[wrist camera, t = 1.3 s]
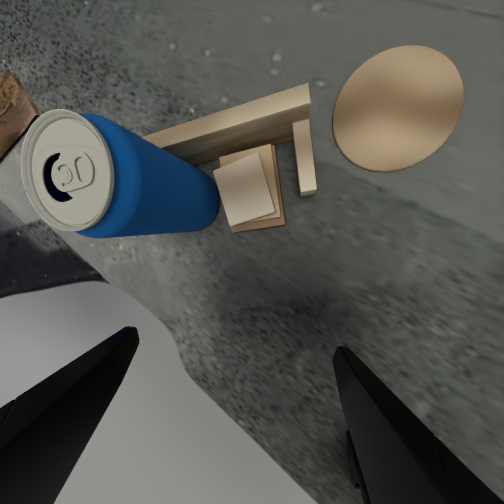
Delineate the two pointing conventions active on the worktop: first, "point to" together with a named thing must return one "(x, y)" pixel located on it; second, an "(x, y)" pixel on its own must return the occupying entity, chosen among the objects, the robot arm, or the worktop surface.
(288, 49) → the worktop surface
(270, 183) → the offcut stack
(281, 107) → the rack
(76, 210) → the beverage can
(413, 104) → the cork coaster
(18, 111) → the wooden fragment
